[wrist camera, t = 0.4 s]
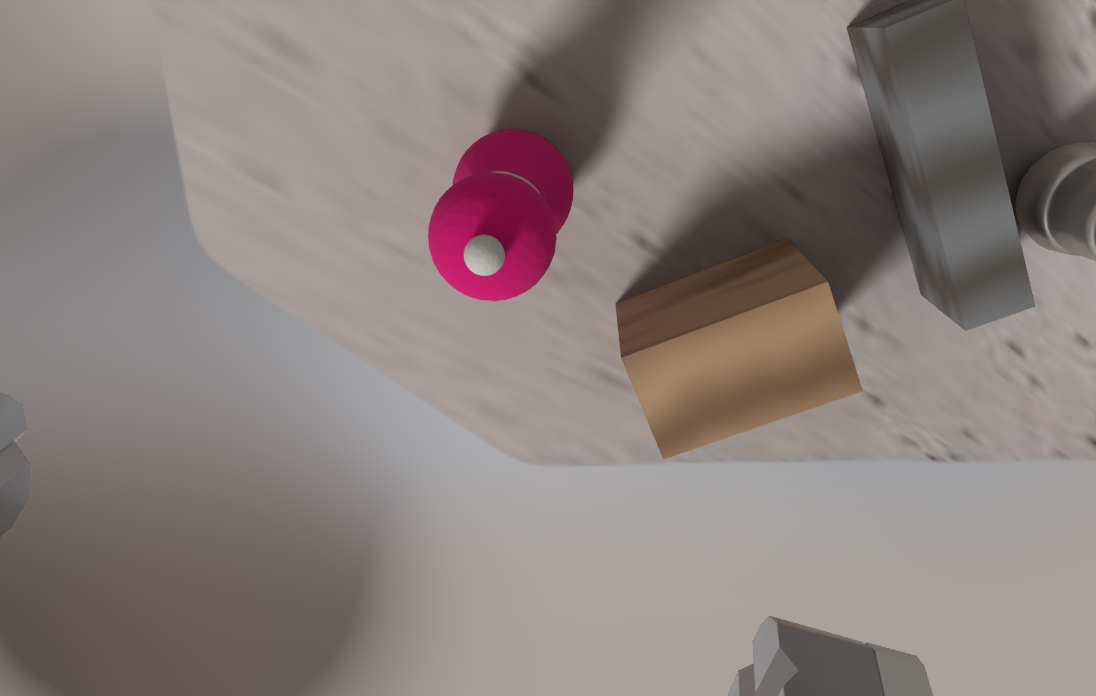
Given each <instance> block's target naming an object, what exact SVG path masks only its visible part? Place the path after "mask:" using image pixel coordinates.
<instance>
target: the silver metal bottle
mask: <svg viewBox="0 0 1096 696" xmlns="http://www.w3.org/2000/svg"><path fill="white" fill-rule="evenodd" d="M1015 208H1016V215H1017V218H1018V221H1019V223H1020V225H1021V227H1022V228H1023V229H1024V231H1025V232H1026V233H1027V234H1028V235H1029V236H1030V237H1031V238H1032V239H1033V240H1034V241H1035V242H1036V243H1038V244H1039V245H1040V246H1042V247H1044V248H1046V249H1048V250H1052V251H1056V252H1060V253H1064V254H1069V255H1077V256H1082V257H1085V258H1088V259H1092V260H1095V261H1096V142H1084V143H1073V144H1067V145H1064V146H1061V147H1058V148H1055V149H1054V150H1052V151H1050V152H1048V153H1046V154H1045V155H1044V156H1042V157H1041V158H1040V159H1038V160H1037V161H1036V162H1035V163H1034V164H1033V165H1032V166H1031V168H1030V169H1029V170H1028V171H1027V173H1026V174H1025V176H1024V177H1023V179H1022V181H1021V183H1020V186H1019V188H1018V192H1017V195H1016V205H1015Z"/></svg>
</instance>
